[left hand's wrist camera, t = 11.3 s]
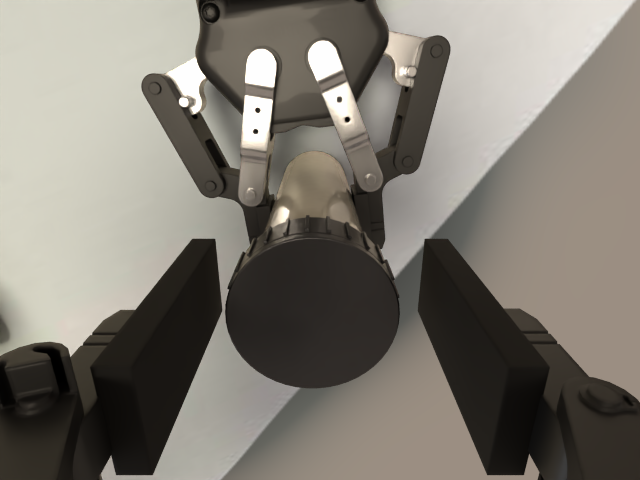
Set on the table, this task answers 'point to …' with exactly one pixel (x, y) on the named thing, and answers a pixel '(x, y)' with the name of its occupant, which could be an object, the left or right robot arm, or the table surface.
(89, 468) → the left robot arm
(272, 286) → the lid
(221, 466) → the table surface
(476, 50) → the table surface
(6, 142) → the table surface
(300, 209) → the jar
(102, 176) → the table surface
